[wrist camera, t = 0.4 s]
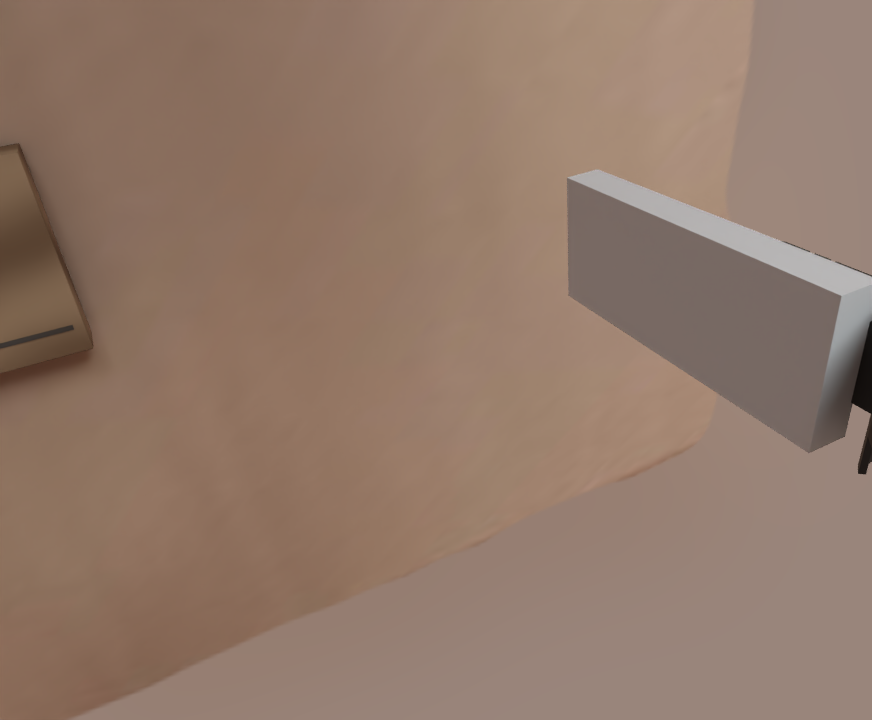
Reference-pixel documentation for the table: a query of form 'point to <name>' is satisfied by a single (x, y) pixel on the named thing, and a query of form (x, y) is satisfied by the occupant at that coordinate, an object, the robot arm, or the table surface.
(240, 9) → the table surface
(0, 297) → the board
